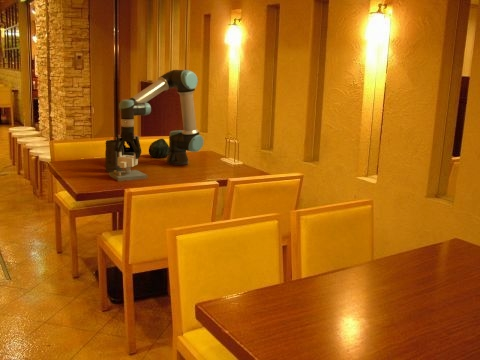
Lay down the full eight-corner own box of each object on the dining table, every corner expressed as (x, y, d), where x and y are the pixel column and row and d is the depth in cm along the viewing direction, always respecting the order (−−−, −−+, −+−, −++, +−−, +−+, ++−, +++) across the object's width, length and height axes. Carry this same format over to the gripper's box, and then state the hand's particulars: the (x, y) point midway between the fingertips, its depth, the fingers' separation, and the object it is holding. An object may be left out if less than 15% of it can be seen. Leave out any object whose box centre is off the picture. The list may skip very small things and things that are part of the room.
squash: (144, 148, 369) (150, 135, 358) (162, 148, 377) (169, 135, 367) (150, 163, 362) (157, 150, 352) (168, 162, 371) (175, 150, 361)
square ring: (123, 163, 304) (123, 155, 303) (137, 164, 303) (137, 156, 301) (114, 167, 292) (114, 158, 290) (129, 168, 290) (129, 159, 289)
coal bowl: (135, 168, 325) (135, 140, 321) (106, 166, 327) (106, 138, 323) (145, 162, 344) (145, 135, 340) (117, 160, 347) (117, 134, 342)
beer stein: (117, 173, 307) (118, 141, 304) (101, 172, 309) (102, 140, 306) (128, 170, 322) (128, 140, 319) (112, 169, 324) (113, 138, 321)
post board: (136, 173, 312) (136, 154, 309) (147, 178, 299) (147, 158, 297) (108, 175, 302) (108, 156, 299) (118, 181, 289) (118, 161, 287)
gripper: (107, 125, 292) (108, 163, 297) (142, 128, 288) (142, 165, 293) (112, 124, 299) (113, 160, 304) (147, 126, 295) (147, 163, 301)
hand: (127, 163), depth 299 cm, fingers closed on square ring, 9 cm apart
